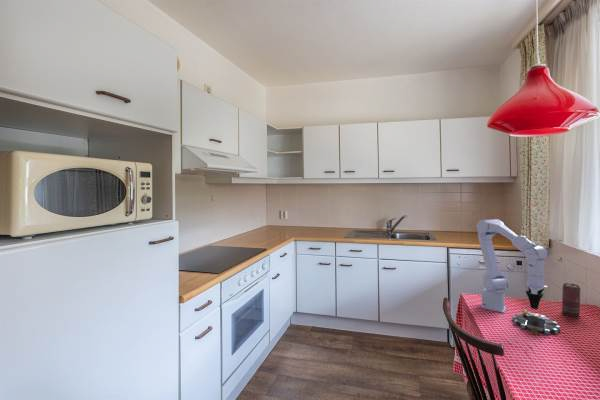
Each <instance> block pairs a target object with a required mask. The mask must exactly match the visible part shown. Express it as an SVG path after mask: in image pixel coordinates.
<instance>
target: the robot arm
mask: <svg viewBox="0 0 600 400" xmlns="http://www.w3.org/2000/svg"><path fill="white" fill-rule="evenodd" d="M475 227H476V230H477V237H478V242H479V246H480V250H481V254H482V257H483V261H484V265H485V270H486V272H485V273H484V274H483V275H482V277H483V281H482V284H483V287H484V288H482V290H481V309H484V310H489V311H494V312H499V313H505V312H506V309H507V306H505V292H507V291H506V290H507V289H508V288H509V286H510V284H509V280H508V279H507V278H506V274H505V273H504V272H502V271H501V270H500V267H499V263H498V260H497V259H498V258H497V255H496V253H495V248H494V245H493V240H492V238H493V237H494V236H495V235H496V234H500V235H502V236H503V237H505V238H507V239H508V241H509V240H510V241H511V245H512V246H513V247H515V248H516V249H518V250H519V251H520V252H522V253H523V255H524V257H525V259H526V263H527V268H526V269H527V272H526V286H527V287H528V289H529V290H525V294H526V295H527V297H528V300H529V305H530V309H532V310H533V309H534V310H538V308H539V305H540V302H541V299H542V298H543V296H544V294H543V291H544V290H545V289H546V290H547V289H548V285H545V266H546V265H545V261H546V260H547V259H548V258H549V255H550V254H549V251H548V249H547V248H546V247H545V246H544V245H537V244H536V242H532V241H531V240H529V239H528V237H527V236H526V235H517V234H516V233H515V232H514V231H513V230H511V229H510V228H509V227H508V226H506V225H505V222H503V221H501V220H500V219H498V218H494V219H493V218H492V219H480V220H479V221H478V222H477V224H476V225H475Z"/></svg>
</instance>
